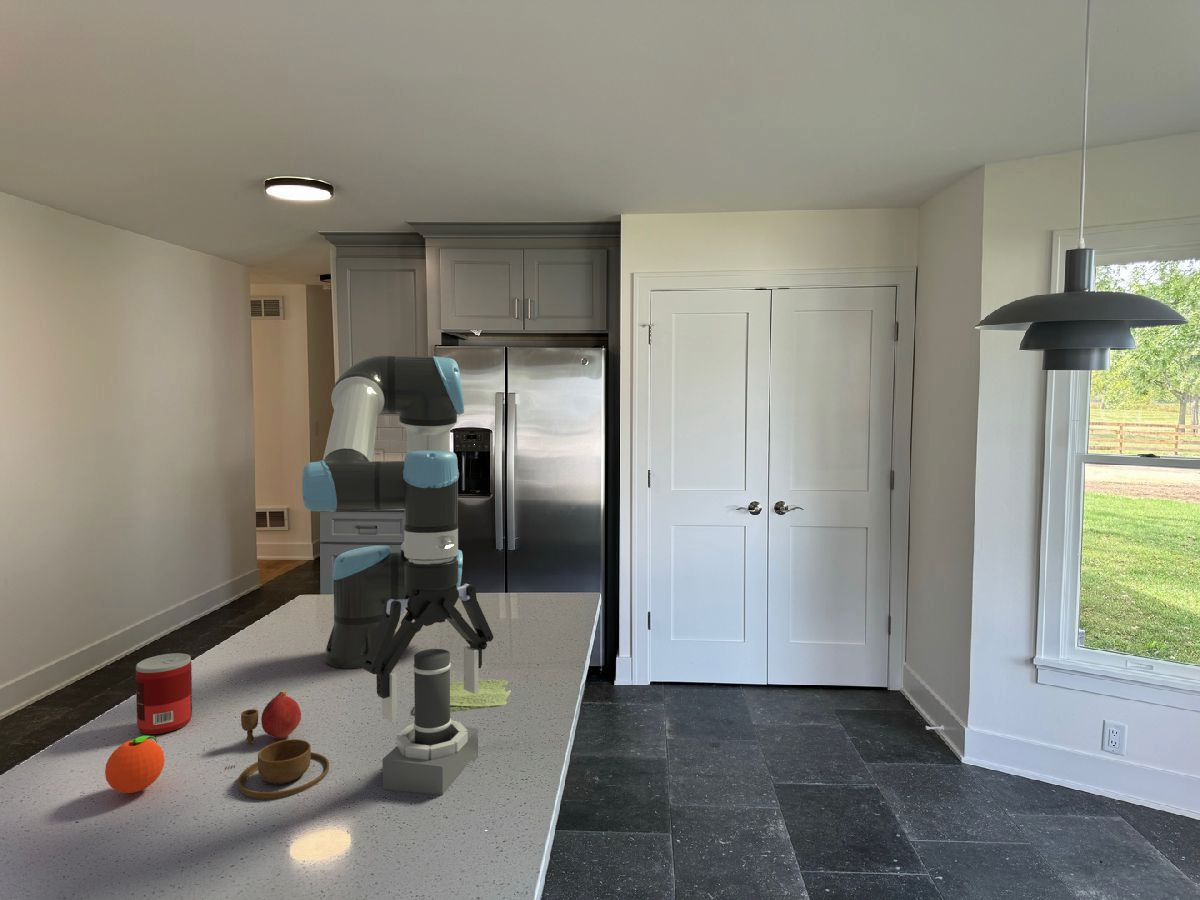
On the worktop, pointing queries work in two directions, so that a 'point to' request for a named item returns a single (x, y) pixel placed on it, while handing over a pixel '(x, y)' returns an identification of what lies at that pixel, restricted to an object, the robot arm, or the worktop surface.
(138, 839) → the worktop surface
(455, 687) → the washcloth
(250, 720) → the place setting
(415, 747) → the block with octagonal ring
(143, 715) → the canned food
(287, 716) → the onion
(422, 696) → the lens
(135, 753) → the clementine
